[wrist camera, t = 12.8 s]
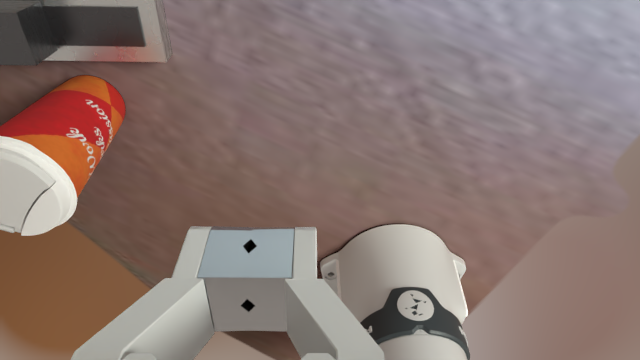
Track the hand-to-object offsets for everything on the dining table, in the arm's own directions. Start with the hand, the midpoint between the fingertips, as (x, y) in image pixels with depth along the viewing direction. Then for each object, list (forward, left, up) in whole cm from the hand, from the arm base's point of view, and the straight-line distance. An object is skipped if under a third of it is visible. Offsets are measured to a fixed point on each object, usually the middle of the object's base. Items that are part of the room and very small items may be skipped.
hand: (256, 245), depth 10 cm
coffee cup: (-12, +20, -31) cm, 39 cm away
